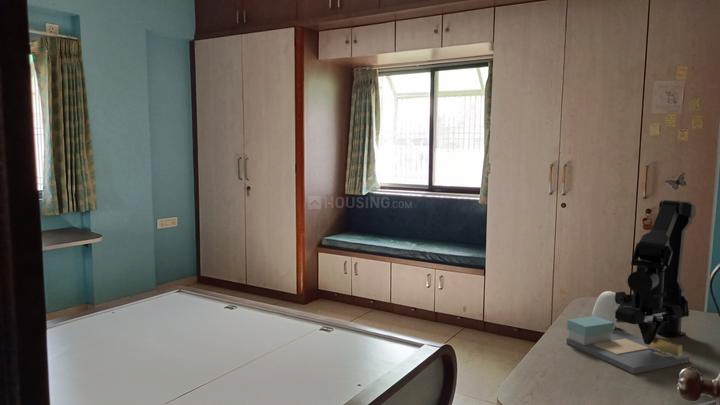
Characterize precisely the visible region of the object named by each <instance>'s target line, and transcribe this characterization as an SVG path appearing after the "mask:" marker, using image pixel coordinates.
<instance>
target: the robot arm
mask: <svg viewBox="0 0 720 405" xmlns="http://www.w3.org/2000/svg"><path fill="white" fill-rule="evenodd" d="M696 212H697V211H696V206H695V205H694V204H692V202H691V201H685V200H684V201H682V200H681V201H680V200H668V199H664V200H660V201H659V203H658V211H657V215H656V217H655V218H654V219H655V220H654V221H653V224H652V227H651V228H650V231H648V232H647V233H645V234H643V235H642V236H641V238H640V240H639V241H638V242H637V243H636V244H635V248H634V251H633V256H632V259H631V262H630V264H631V265H630V266H635V267H636V271H633V272H632V273H630V274H629V276H628V278H627V279H626V280H627V286H628V287H629V290H631V291H632V292H633V293H630V294H629V293H628V294H626V292H625V291H618V292H615V293H616V294H615V301H616V303H617V304H620V307H624V306H631V307H632V308H637V309H638V310H635V309H632V308H629V307H624V308H618V309H617V310H616V311H615V318H616V319H617V320H619V321H622V322H625V323H626V324H627V323H628V324H631V325H638V328H639V331H640V333H641V337H642V339H643V340H644V343H645V344H647V345H649V344H651V342H652V341H653V339H654V338H655V336H658V334H660V335H664V336H667V337H669V338H674V337H680V336H686V335H687V333H686V332H684V331H682V321H683V320H682V318H685V317H690V305H689V301H688V298H687V296H686V289H685V287H684V286H683V283H682V282H681V272H682V262H683V253H684V252H683V251H684V242H685V241H684V240H685V233H686V230H688V229H689V228H690V227H691V225H692V224H693V219H694V218H695V217H696Z"/></svg>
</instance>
